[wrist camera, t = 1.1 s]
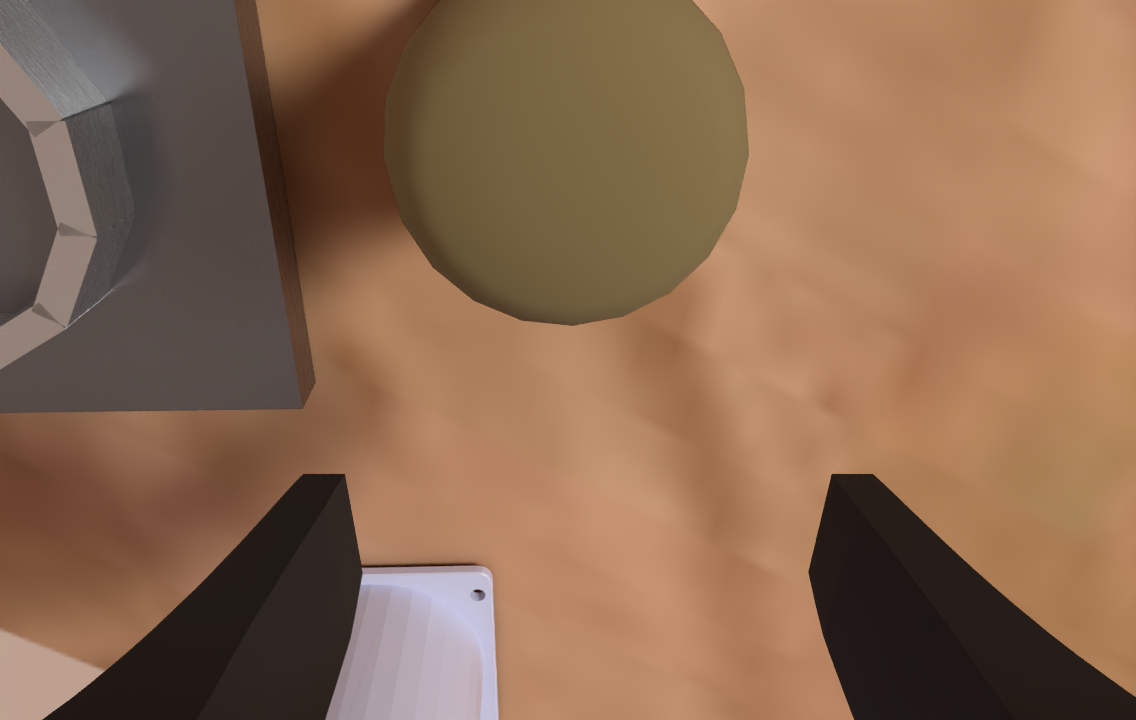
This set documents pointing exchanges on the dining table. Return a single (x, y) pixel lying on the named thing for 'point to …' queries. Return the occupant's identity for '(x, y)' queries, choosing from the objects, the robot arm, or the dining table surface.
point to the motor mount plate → (143, 212)
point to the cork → (566, 150)
